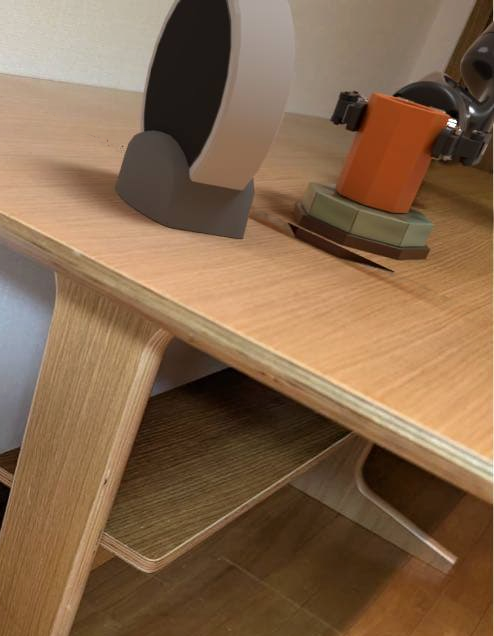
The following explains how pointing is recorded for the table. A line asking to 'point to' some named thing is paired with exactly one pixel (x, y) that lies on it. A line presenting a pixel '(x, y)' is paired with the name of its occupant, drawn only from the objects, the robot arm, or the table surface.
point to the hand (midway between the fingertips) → (395, 130)
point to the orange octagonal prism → (390, 153)
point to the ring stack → (359, 227)
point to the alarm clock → (210, 113)
